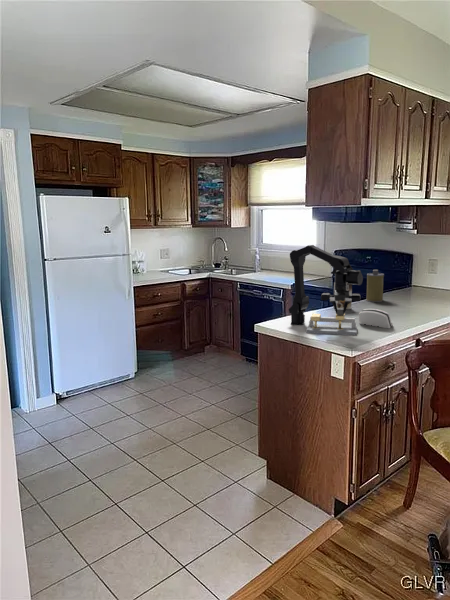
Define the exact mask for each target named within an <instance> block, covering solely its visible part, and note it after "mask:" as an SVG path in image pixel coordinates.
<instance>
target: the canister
mask: <svg viewBox="0 0 450 600" xmlns="http://www.w3.org/2000/svg"><path fill="white" fill-rule="evenodd" d="M384 277H385V273H381V272H379V269H372V272H369V273H367V274H366V298H365V299H366V300H365V301H367V302H371V303H380V302H381V303H382V302H383V301H384Z"/></svg>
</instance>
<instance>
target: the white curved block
mask: <svg viewBox="0 0 450 600" xmlns="http://www.w3.org/2000/svg"><path fill="white" fill-rule="evenodd" d="M359 323H360V324H359ZM358 324H359V325H364V324H366V326H371V325H372V326H373V327H377V326H379V327H378V328H384V329H391V327H394V326H393V325H394V323H393V322H392V320H391V316H390V313H389V312H387V311H384V310H382V309H377V308H364V309H362V310H360V311H359V313H358Z"/></svg>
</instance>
